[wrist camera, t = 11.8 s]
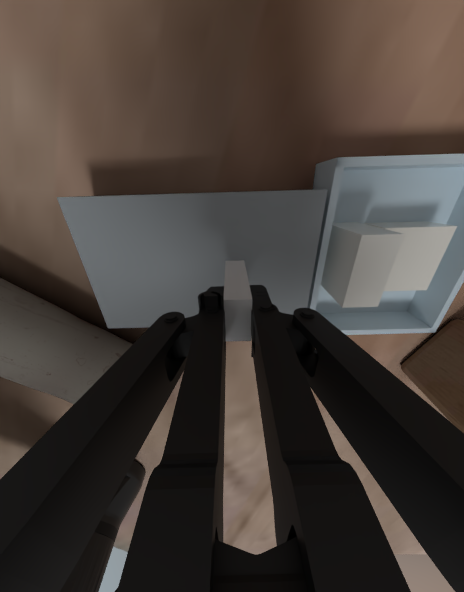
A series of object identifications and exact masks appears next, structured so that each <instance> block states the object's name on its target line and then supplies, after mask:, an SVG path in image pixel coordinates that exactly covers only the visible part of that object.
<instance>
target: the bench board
mask: <svg viewBox="0 0 464 592" xmlns="http://www.w3.org/2000/svg"><path fill="white" fill-rule="evenodd" d="M327 191H328V190H279V191H245V192H211V193H177V194H143V195H109V196H80V197H57V199H58V202H59V204H60V207H61V209H62V212H63V214H64V217H65V219H66V222H67V225H68V227H69V230H70V232H71V235H72V237H73V240H74V243H75V245H76V248H77V250H78V253H79V255H80V258H81V260H82V263H83V266H84V268H85V271H86V273H87V276H88V278H89V281H90V283H91V286H92V289H93V291H94V294H95V296H96V299H97V301H98V304H99V306H100V309H101V312H102V314H103V317H104V319H105V322H106V324H107V327H108V328H145V327H150V326H151V325H152V324H153V323H154V322H155V321H156V320H157V319H158V318H159V317H160V316H162V315H163V314H166V313H168V312H180V313H182V314H184V317H185V318H187V317H191V316H195V315H197V314H198V313H199V304H198V295H199V294H200V293H202V292H205V291H207V289H209V288H210V287H215V286H224V280H225V263H226V261H239V260H244V262H245V267H246V271H247V276H248V281H249V285H263V286H264V287H266V289H267V292H268V294H269V297H270V299H271V302H272V304H274V305H276V306H277V308H278V310H279V312H282V313H286V314H292V315H293V313H294V311H295V310H296V309H298V308H307V306H308V300H309V294H310V289H311V283H312V277H313V272H314V266H315V260H316V254H317V249H318V243H319V237H320V231H321V226H322V220H323V214H324V209H325V203H326V197H327Z"/></svg>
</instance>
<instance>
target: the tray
mask: <svg viewBox="0 0 464 592" xmlns="http://www.w3.org/2000/svg"><path fill="white" fill-rule="evenodd" d="M312 190H328V191H327V197H326V203H325V209H324V214H323V220H322V226H321V231H320V237H319V243H318V249H317V254H316V260H315V266H314V272H313V277H312V283H311V289H310V294H309V300H308V306H307V308H310V309H313V310H315V311H317V312H319V313H320V314H321V315H322V316H323V317H325V318H326V319H327V320H328V321H329V322H331V323H332V324H333V325H334V326H336V327H337V328H338V329H339V330H340V331H342V332H343V333H344V334H345V335H358V334H399V333H435V332H436V330H437V328H438V326H439V325H440V323H441V321H442V319H443V317H444V316H445V314H446V312H447V310H448V309H449V307H450V305H451V303H452V301H453V300H454V298H455V296H456V294H457V293H458V291H459V289H460V287H461V285H462V284H463V282H464V154H432V155H400V156H367V157H337V158H334V159H331V160H327V161H324V162H321V163H318V164H316V168H315V175H314V182H313V189H312ZM417 221H428V222H434V223H441V224H447V225H453V226H457V228H456V230H455V232H454V234H453V236H452V238H451V240H450V243H449V245H448V247H447V249H446V251H445V253H444V255H443V257H442V259H441V261H440V263H439V266H438V268H437V270H436V272H435V274H434V276H433V278H432V280H431V282H430V284H429V286H428V288H427V290H415V291H383V294H382V297H381V299H380V302H379V305H378V307H348V308H342V307H341V306H340V305H339V304H338V303H337V302H336V300H335V299H334V298H333V297H332V296H331V295H330V294H329V293H328V292H327V291H326V290H325V289H324V288H323V287H322V286H321V280H322V275H323V270H324V265H325V260H326V255H327V250H328V245H329V240H330V235H331V230H332V225H333V223H340V222H359V223H363V224H364V223H381V222H417Z"/></svg>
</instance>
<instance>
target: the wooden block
mask: <svg viewBox="0 0 464 592" xmlns="http://www.w3.org/2000/svg"><path fill="white" fill-rule="evenodd" d="M401 369H402V371H403V372H404V373H405V374H406V375H407V376H408V377H409V379H410V380H411V381H412V382H413V383H414V384H415V385H416V386H417V387H418V388H419V389H420V390H421V391H422V392H423V393H424V394H425V395H426V396H427V398H428V399H429V400H430V401H431V402H432V403H433V404H434V405H435V406H436V407H437V408H438V409H439V410H440V411H441V412H442V413H443V414H444V415H445V416H446V418H447V419H448V420H449V421H450V422H451V423H452V424H453V425H454V426H456V427H457V428H458V429H459V430H460V431H462V432H463V433H464V320H460V319H455V320H453V321H451V322H449V323H448V324H447V325H446V326H445V327H444V328H442V329H441V330H440V331H439V332H438V333H437V334H436V335H434V336H433V337H432V338H431V339H430V340H429V341H428V342H426V343H425V344H424V345H423V346H422V347H421V348H420V349H419V350H417V351H416V352H415V353H414V354H413V355H412V356H411V357H409V358H408V359H407V360H406V361H405V362H404V363H403V364H402V366H401Z"/></svg>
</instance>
